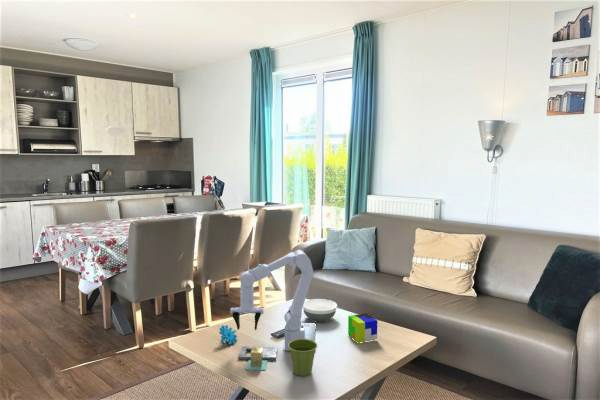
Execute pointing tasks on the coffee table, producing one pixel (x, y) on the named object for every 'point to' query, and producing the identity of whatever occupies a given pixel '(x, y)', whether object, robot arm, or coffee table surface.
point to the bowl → (319, 309)
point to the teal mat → (256, 367)
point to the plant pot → (302, 355)
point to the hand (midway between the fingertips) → (247, 328)
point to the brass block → (256, 357)
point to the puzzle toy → (362, 327)
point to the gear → (228, 334)
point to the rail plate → (268, 353)
